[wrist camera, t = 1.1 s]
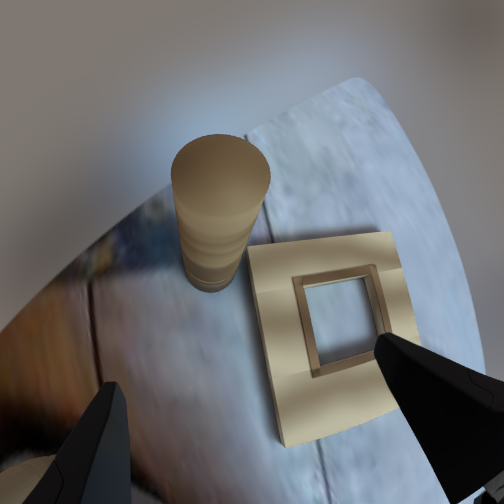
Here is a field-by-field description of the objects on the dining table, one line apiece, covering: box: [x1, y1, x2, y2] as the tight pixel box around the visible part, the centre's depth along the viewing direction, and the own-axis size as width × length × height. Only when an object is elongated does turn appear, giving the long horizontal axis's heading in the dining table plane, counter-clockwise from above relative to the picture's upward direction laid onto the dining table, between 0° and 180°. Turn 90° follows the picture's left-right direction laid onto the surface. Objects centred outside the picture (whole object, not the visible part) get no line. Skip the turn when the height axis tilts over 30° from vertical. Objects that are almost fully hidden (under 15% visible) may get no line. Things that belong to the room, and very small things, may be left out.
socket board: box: [245, 231, 421, 448], centre depth 23 cm, size 16×14×1 cm
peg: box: [171, 134, 271, 293], centre depth 18 cm, size 4×4×13 cm
